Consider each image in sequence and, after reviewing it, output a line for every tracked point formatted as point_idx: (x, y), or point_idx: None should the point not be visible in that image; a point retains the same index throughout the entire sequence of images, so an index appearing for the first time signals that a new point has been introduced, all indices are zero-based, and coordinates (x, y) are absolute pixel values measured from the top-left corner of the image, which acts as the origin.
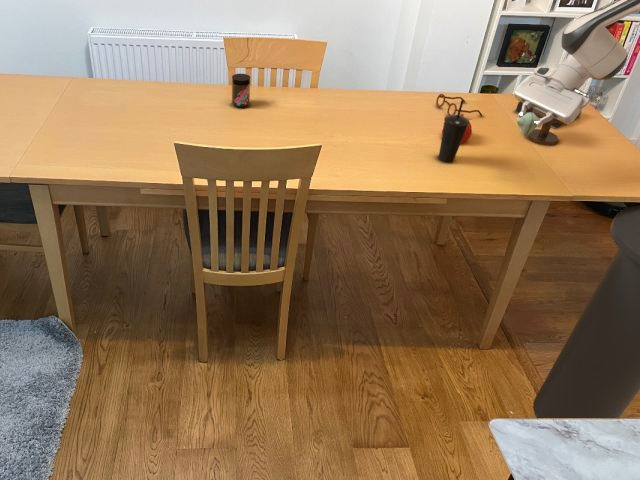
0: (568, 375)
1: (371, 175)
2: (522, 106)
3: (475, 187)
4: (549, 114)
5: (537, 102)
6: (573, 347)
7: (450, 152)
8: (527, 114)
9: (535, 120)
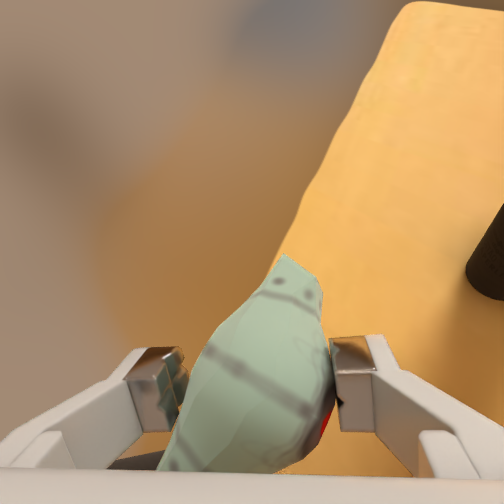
0: (160, 455)
1: (429, 74)
2: (452, 398)
3: (296, 257)
4: (7, 451)
5: (239, 500)
6: (153, 468)
7: (480, 241)
8: (265, 330)
9: (188, 383)
